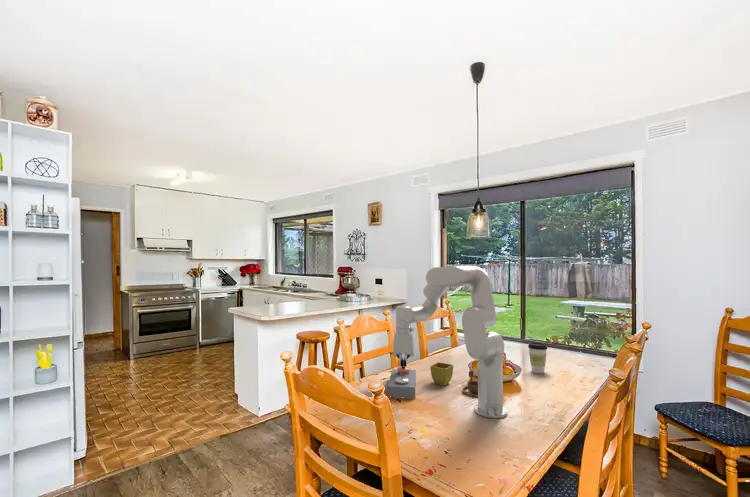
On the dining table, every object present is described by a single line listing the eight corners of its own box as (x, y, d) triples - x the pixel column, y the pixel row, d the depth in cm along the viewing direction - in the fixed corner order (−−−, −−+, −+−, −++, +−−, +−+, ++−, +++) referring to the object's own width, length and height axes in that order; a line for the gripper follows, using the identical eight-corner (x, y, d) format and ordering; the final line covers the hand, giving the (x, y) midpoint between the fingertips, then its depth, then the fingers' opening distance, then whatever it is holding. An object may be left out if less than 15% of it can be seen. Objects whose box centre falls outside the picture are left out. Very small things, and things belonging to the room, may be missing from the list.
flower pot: (446, 388, 169) (446, 368, 170) (429, 384, 174) (429, 365, 175) (454, 383, 176) (453, 364, 177) (438, 379, 181) (438, 361, 182)
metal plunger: (408, 395, 158) (408, 381, 159) (395, 395, 159) (395, 380, 159) (408, 390, 164) (408, 377, 165) (396, 390, 165) (396, 376, 165)
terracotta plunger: (409, 383, 172) (409, 369, 173) (397, 382, 173) (397, 369, 173) (409, 379, 178) (409, 366, 179) (397, 378, 179) (397, 366, 179)
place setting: (452, 393, 163) (452, 380, 164) (468, 382, 179) (468, 370, 180) (490, 402, 153) (489, 388, 153) (503, 389, 169) (503, 376, 169)
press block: (415, 399, 155) (415, 387, 155) (387, 397, 156) (387, 386, 157) (415, 379, 181) (415, 370, 181) (392, 379, 182) (392, 369, 183)
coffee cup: (524, 370, 198) (523, 343, 199) (536, 368, 202) (536, 341, 203) (539, 375, 189) (538, 346, 190) (551, 372, 193) (551, 345, 194)
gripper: (418, 329, 180) (418, 366, 179) (389, 328, 181) (388, 365, 181) (418, 332, 172) (418, 370, 171) (387, 331, 174) (387, 369, 173)
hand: (403, 367), depth 176 cm, fingers closed
